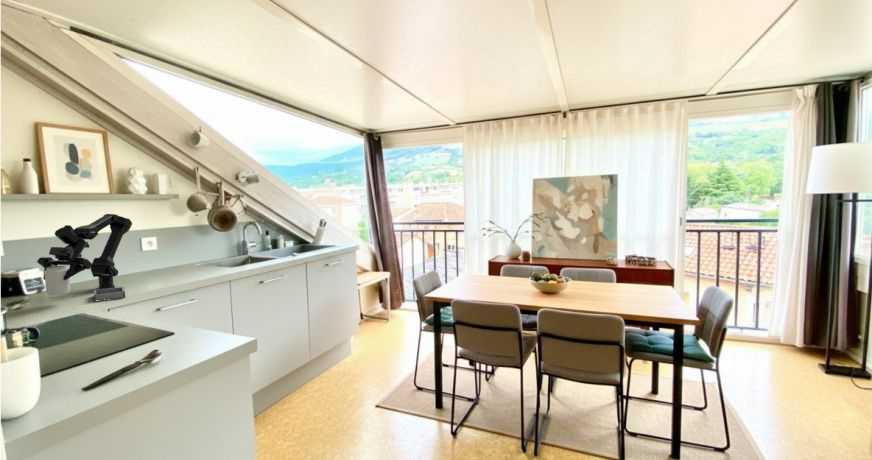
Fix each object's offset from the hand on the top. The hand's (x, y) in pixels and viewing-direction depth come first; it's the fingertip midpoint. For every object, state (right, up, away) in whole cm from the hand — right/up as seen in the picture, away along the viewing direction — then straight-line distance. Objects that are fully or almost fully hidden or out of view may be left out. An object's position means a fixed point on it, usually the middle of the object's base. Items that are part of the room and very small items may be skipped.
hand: (54, 279), depth 165 cm
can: (0, -7, +2) cm, 7 cm away
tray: (+11, -10, +15) cm, 21 cm away
